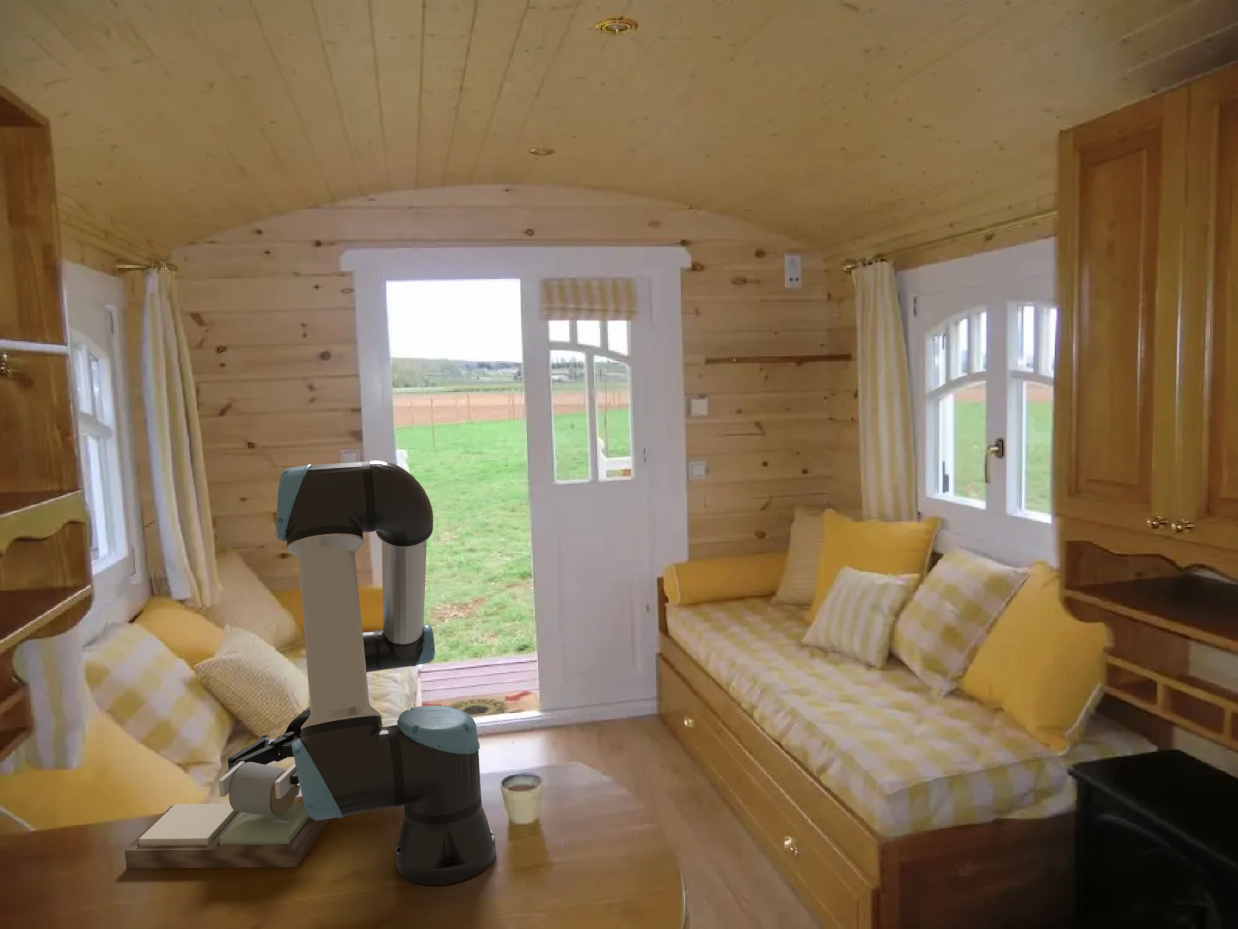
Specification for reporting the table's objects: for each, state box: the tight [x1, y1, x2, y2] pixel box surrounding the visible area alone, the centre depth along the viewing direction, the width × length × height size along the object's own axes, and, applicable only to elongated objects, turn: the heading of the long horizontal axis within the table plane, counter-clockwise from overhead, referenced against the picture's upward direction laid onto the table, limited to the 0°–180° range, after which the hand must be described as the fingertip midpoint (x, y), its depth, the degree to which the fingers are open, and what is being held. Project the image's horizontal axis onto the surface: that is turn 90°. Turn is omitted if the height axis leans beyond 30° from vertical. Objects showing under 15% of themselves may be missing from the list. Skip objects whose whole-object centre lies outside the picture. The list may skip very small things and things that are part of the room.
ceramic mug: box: [228, 762, 301, 816], centre depth 151 cm, size 11×8×8 cm
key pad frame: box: [124, 805, 330, 870], centre depth 151 cm, size 27×14×3 cm, turn 87°
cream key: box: [139, 803, 239, 846], centre depth 151 cm, size 11×11×3 cm
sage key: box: [219, 802, 310, 845], centre depth 151 cm, size 11×11×3 cm
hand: (249, 789), depth 145 cm, fingers closed on ceramic mug, 8 cm apart
